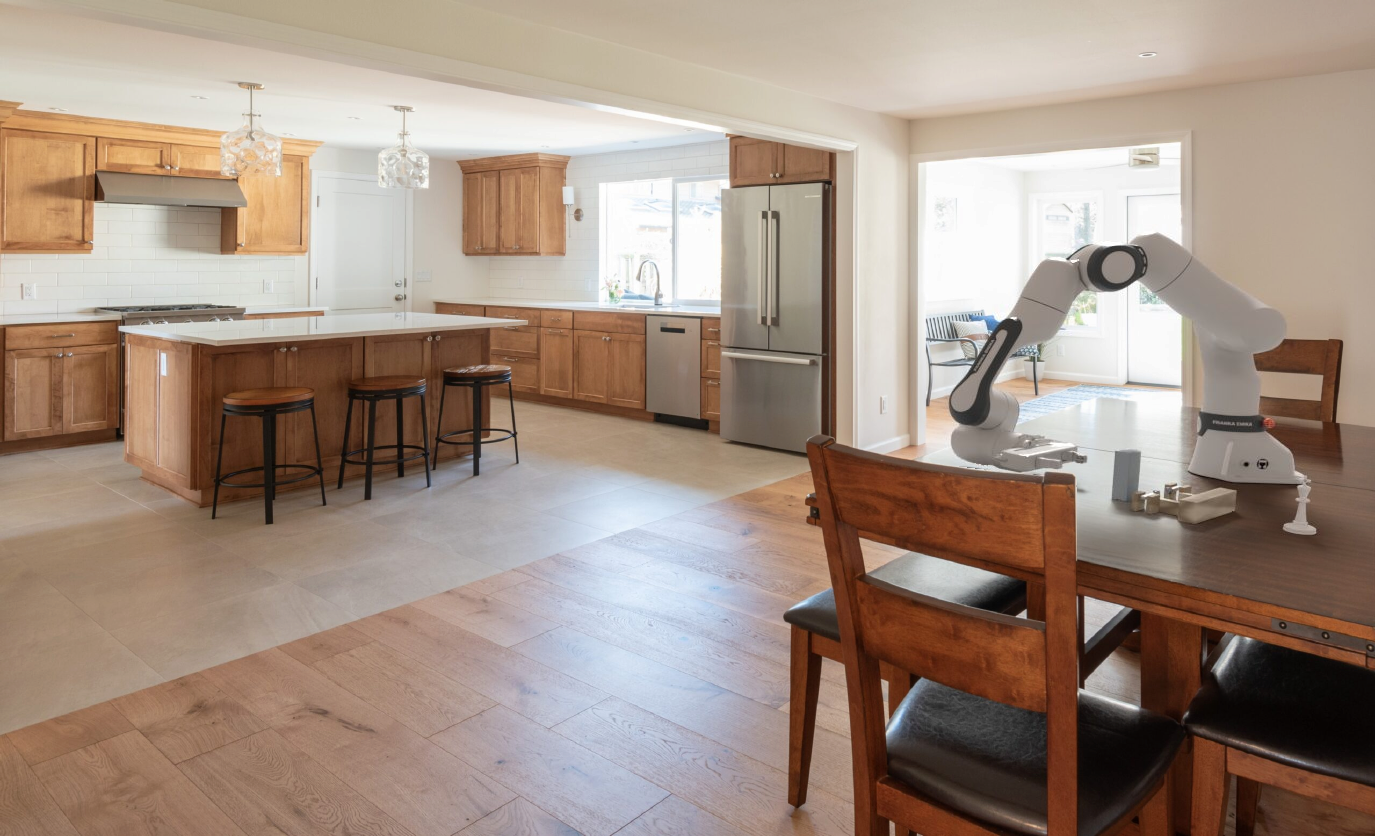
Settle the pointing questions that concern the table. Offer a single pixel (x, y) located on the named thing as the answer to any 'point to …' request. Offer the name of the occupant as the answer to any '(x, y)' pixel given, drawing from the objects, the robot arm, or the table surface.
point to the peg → (1126, 474)
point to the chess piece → (1301, 512)
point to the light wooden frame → (1188, 503)
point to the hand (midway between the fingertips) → (1073, 462)
